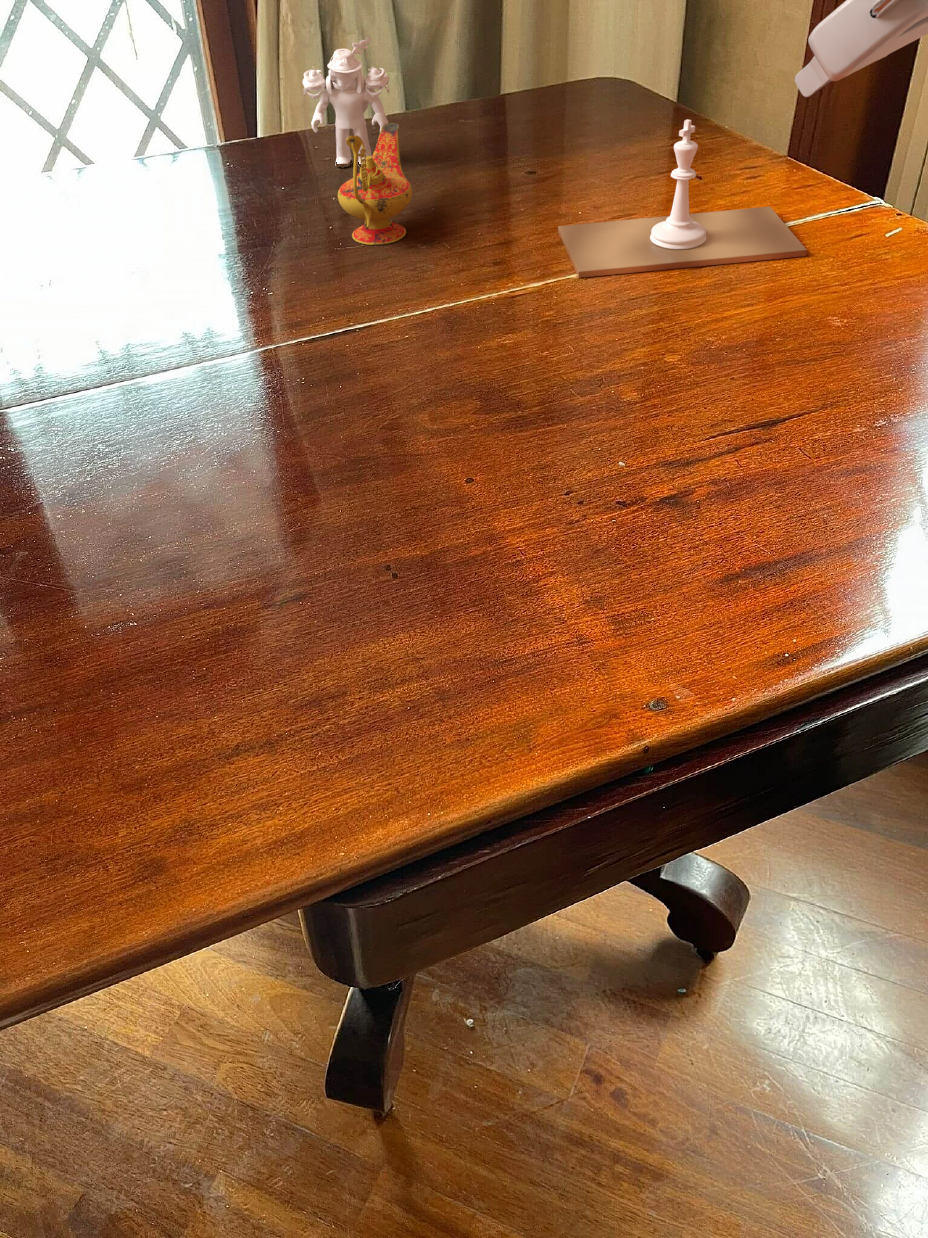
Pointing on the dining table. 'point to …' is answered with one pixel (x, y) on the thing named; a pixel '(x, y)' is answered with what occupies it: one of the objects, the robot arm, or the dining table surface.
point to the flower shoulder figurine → (348, 98)
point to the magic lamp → (377, 189)
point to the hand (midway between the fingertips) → (838, 68)
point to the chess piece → (681, 201)
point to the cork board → (633, 251)
